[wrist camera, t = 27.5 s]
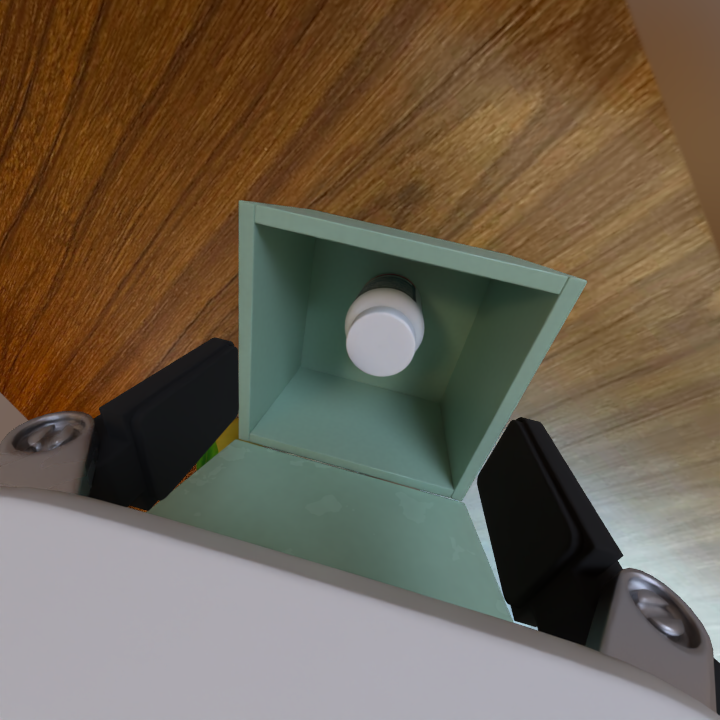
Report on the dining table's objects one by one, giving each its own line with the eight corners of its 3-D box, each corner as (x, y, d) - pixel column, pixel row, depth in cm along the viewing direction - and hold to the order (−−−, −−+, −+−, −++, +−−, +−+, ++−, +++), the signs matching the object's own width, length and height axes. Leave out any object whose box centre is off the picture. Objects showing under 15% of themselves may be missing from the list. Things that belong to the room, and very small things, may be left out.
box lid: (-383, 942, 4) (-306, 1139, 5) (872, 1487, 3) (645, 1587, 4) (235, 438, 19) (222, 510, 20) (464, 502, 18) (440, 574, 19)
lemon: (246, 391, 31) (181, 458, 22) (286, 424, 32) (239, 500, 24) (217, 422, 34) (150, 492, 25) (256, 451, 35) (204, 528, 26)
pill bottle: (348, 289, 24) (317, 322, 16) (405, 260, 22) (403, 281, 14) (375, 342, 25) (359, 397, 18) (431, 320, 24) (441, 368, 16)
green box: (312, 209, 22) (237, 199, 13) (509, 254, 21) (588, 281, 12) (295, 367, 29) (238, 439, 19) (444, 406, 28) (461, 501, 18)
